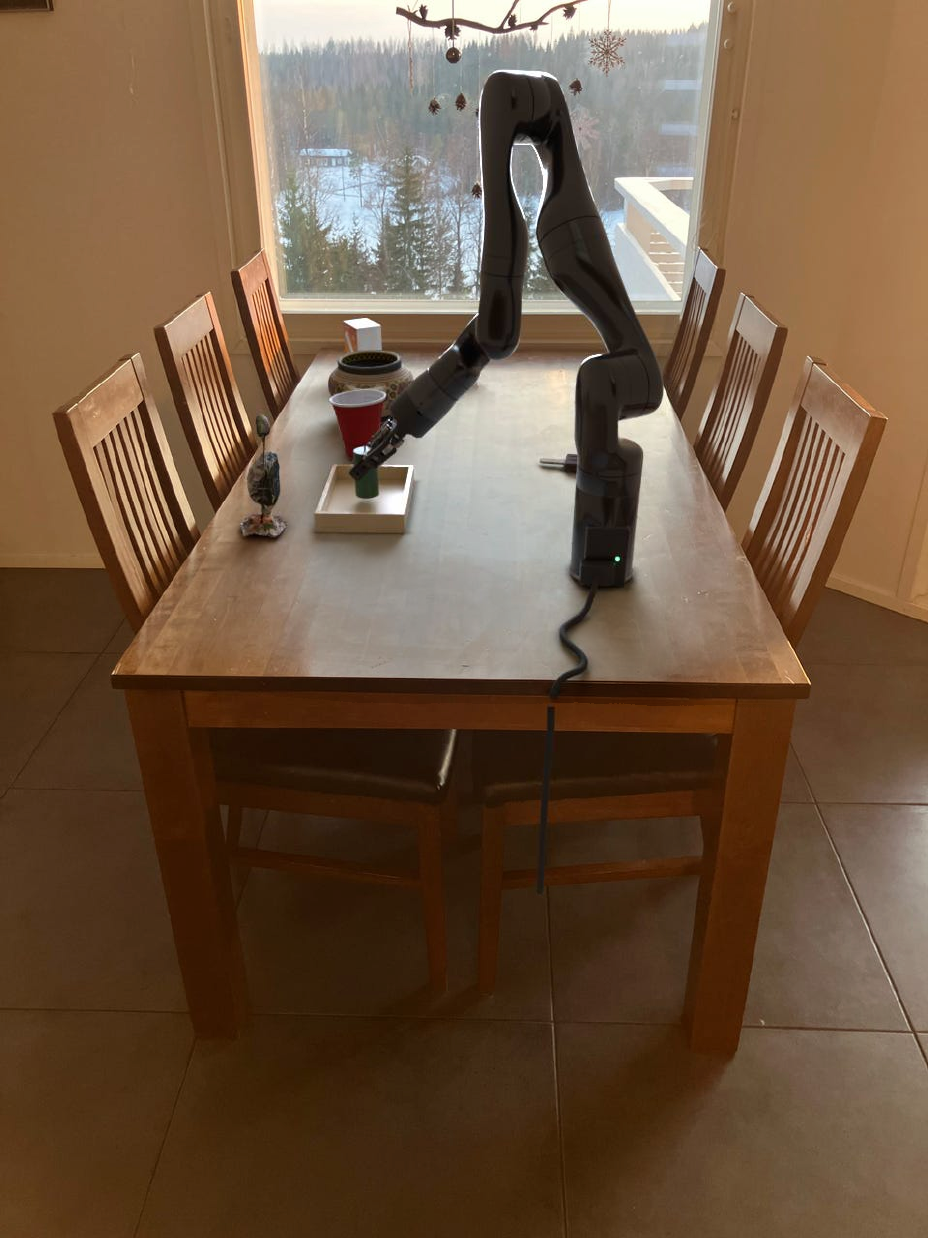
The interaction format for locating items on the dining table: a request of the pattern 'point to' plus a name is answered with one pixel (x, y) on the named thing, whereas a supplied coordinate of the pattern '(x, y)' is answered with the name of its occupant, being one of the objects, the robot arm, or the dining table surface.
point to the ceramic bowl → (371, 375)
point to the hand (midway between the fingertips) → (354, 471)
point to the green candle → (366, 477)
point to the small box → (362, 335)
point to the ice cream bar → (563, 462)
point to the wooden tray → (365, 502)
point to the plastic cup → (358, 416)
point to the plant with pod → (264, 488)
